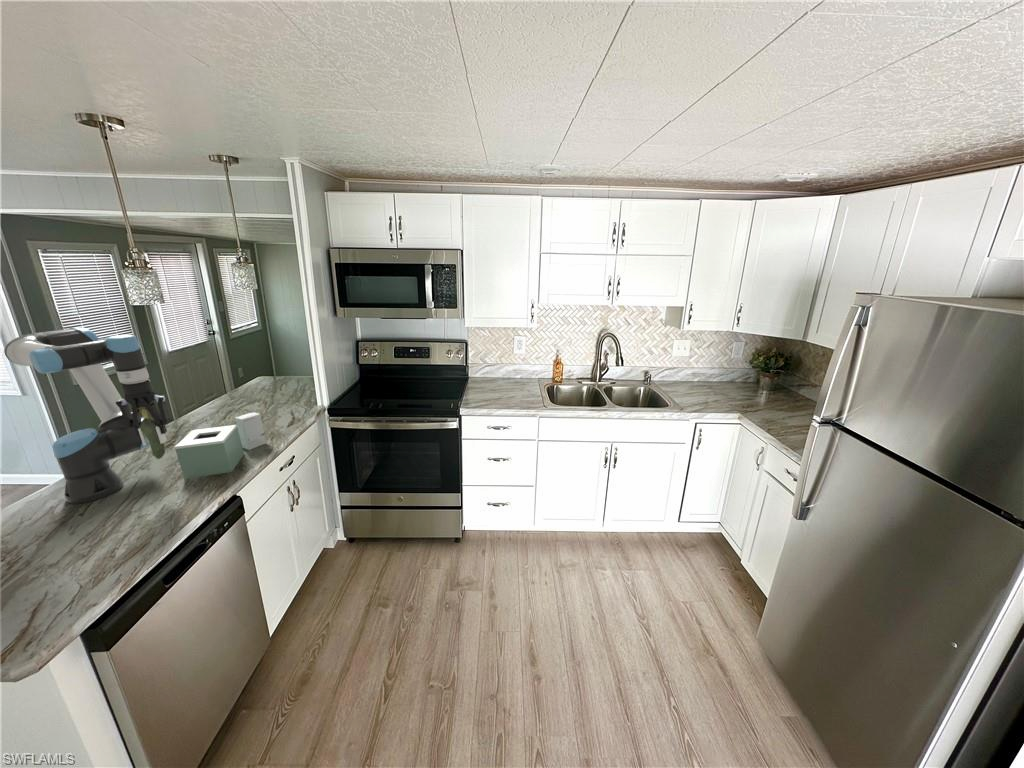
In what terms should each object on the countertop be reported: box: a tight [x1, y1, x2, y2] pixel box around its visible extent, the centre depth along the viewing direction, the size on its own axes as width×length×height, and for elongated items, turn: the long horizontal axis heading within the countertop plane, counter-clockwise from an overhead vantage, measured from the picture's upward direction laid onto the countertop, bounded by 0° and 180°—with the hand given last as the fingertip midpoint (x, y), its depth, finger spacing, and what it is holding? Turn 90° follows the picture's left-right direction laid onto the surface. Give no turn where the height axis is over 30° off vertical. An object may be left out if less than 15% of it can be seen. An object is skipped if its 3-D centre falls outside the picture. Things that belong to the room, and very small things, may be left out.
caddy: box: [174, 424, 245, 480], centre depth 164 cm, size 16×16×14 cm
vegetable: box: [139, 408, 166, 460], centre depth 142 cm, size 4×4×20 cm
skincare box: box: [234, 411, 267, 451], centre depth 181 cm, size 8×6×15 cm
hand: (155, 442), depth 143 cm, fingers closed on vegetable, 4 cm apart
